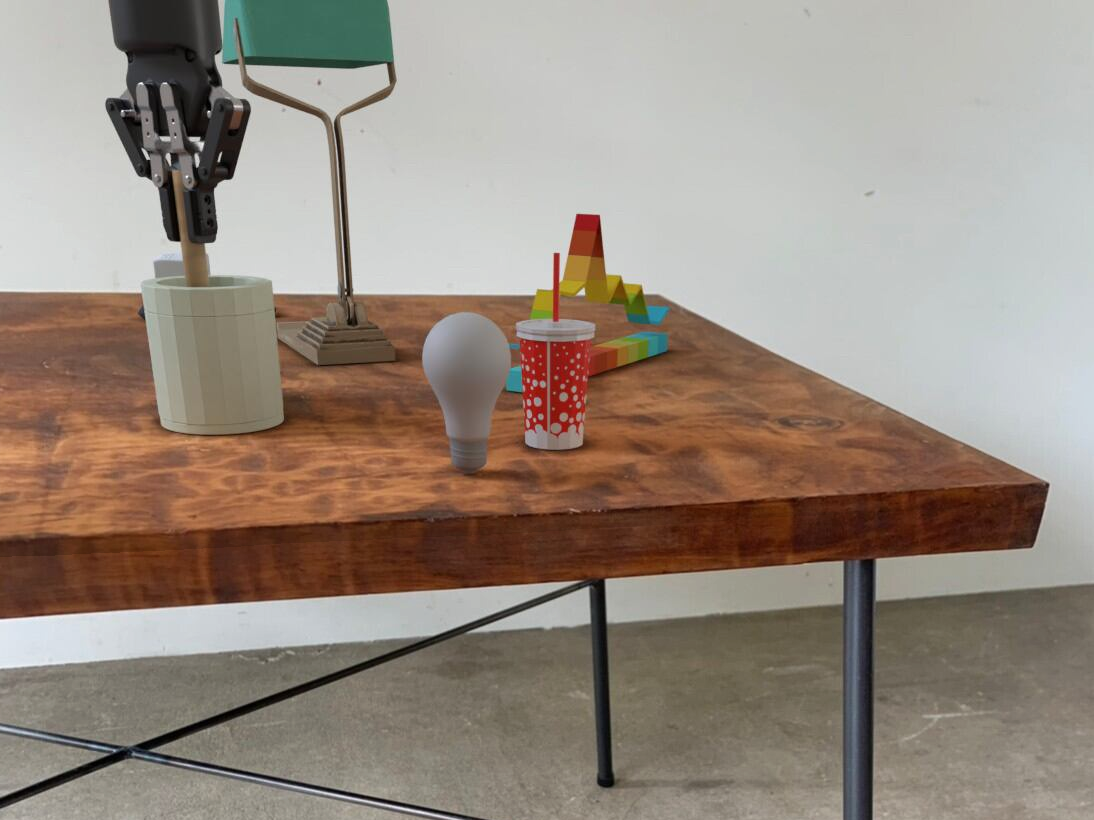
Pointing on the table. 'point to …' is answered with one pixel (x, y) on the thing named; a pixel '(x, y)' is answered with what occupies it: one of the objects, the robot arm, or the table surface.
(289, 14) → the banker's lamp
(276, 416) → the jar
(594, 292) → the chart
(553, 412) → the beverage cup
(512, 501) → the table surface
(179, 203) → the brush
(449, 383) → the lightbulb
